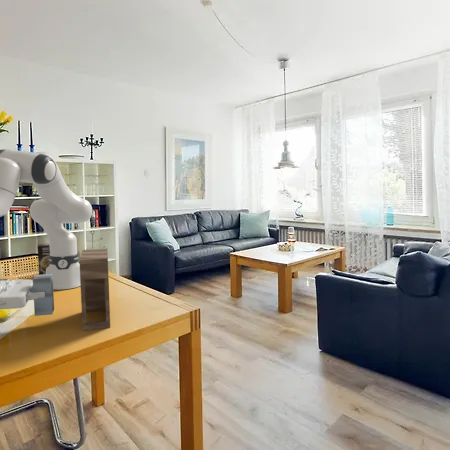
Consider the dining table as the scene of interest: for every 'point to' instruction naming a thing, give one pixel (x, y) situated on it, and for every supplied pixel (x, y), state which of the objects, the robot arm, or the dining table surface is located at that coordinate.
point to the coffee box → (43, 258)
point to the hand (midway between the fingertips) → (46, 291)
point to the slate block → (47, 303)
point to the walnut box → (94, 286)
